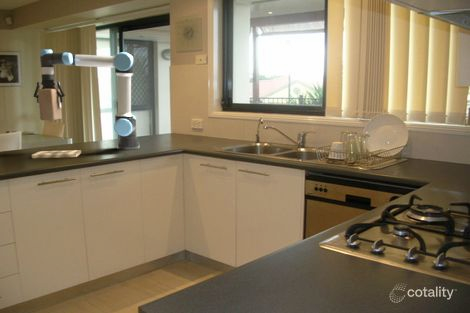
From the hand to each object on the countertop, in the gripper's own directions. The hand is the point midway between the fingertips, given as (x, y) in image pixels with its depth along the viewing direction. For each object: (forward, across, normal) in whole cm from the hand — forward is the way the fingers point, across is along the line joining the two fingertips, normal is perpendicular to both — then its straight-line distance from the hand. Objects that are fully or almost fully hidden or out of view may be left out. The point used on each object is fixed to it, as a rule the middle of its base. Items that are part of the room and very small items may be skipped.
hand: (50, 107), depth 296 cm
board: (+30, -6, +15) cm, 34 cm away
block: (+8, 0, 0) cm, 8 cm away
